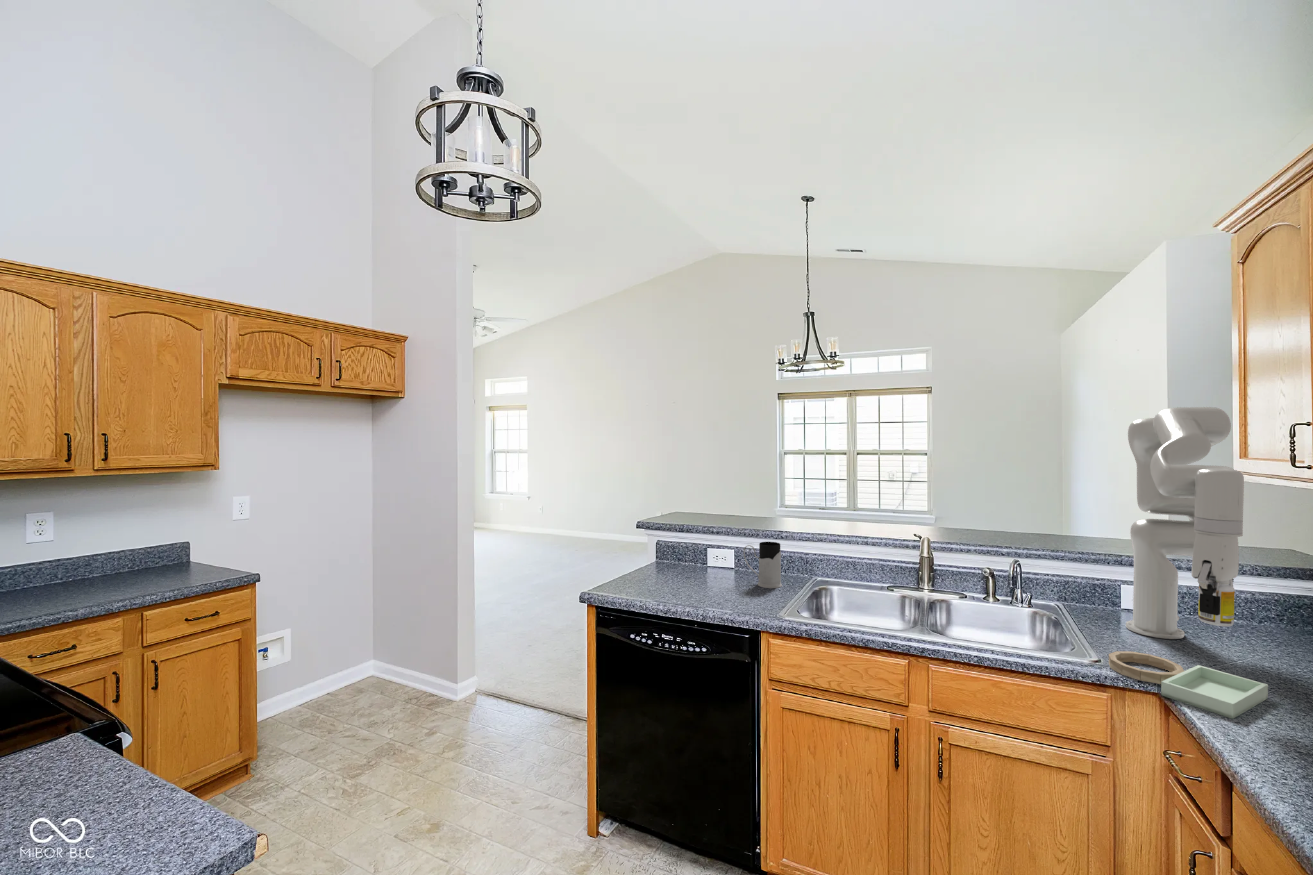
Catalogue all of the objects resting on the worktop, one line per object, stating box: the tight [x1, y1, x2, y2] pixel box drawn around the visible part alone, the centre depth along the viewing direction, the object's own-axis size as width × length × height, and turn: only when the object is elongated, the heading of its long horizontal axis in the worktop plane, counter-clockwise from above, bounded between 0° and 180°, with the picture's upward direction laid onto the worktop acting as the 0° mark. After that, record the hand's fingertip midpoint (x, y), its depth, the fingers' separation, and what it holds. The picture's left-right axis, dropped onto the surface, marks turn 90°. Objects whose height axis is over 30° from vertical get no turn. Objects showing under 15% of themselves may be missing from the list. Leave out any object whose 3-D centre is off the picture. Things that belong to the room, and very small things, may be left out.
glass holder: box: [743, 541, 783, 589], centre depth 216 cm, size 9×14×15 cm, turn 64°
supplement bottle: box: [1197, 577, 1236, 627], centre depth 126 cm, size 6×6×10 cm
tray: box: [1160, 664, 1269, 720], centre depth 127 cm, size 18×12×3 cm, turn 119°
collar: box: [1108, 650, 1185, 685], centre depth 140 cm, size 13×13×2 cm
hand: (1215, 610), depth 126 cm, fingers closed on supplement bottle, 5 cm apart
